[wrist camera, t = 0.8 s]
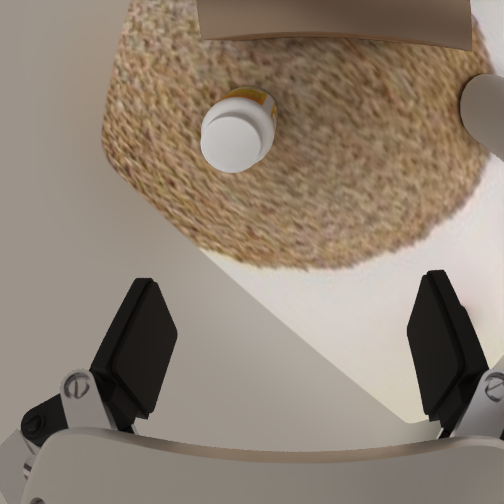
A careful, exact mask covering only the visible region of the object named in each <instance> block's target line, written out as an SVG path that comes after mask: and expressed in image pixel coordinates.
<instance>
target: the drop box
mask: <svg viewBox="0 0 504 504" xmlns="http://www.w3.org/2000/svg"><path fill="white" fill-rule="evenodd" d="M196 1H197V9H198V17H199V25H200V33H201V40H232V41H244V40H255V39H268V38H289V37H335V38H356V39H369V40H380V41H389V42H397V43H409V44H420V45H430V46H438V47H446V48H453V49H459V50H465V51H471V52H472V25H471V7H470V0H196Z"/></svg>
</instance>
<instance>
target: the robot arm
mask: <svg viewBox="0 0 504 504" xmlns="http://www.w3.org/2000/svg"><path fill="white" fill-rule="evenodd" d="M407 337H408V341H409V345H410V349H411V353H412V357H413V361H414V366H415V370H416V375H417V379H418V384H419V389H420V394H421V399H422V404H423V410H424V413H425V415H429V421H430V422H431V421H437V420H440V424H441V427H442V429H441V431H440V432H439V434H438V436H437V437H436V439H435V440H430V441H424V442H419V443H412V444H404V445H397V446H388V447H381V448H371V449H359V450H346V451H323V452H273V451H252V450H238V449H227V448H217V447H208V446H200V445H193V444H186V443H179V442H173V441H167V440H162V439H156V438H151V437H145V436H140V435H139V434H138V432H137V430H136V427H135V425H134V421H135V418H136V417H138V418H142V419H148V417H149V413H152V412H153V411H154V409H155V405H156V402H157V399H158V395H159V392H160V389H161V386H162V383H163V380H164V377H165V374H166V371H167V367H168V364H169V361H170V358H171V355H172V352H173V349H174V346H175V343H176V340H177V329H176V327H175V324H174V322H173V320H172V317H171V315H170V313H169V311H168V308H167V305H166V303H165V301H164V298H163V296H162V294H161V291H160V288H159V286H158V284H157V283H156V282H154V281H153V279H152V278H136V279H135V280H134V282H133V284H132V285H131V287H130V289H129V291H128V293H127V295H126V297H125V298H124V300H123V302H122V304H121V306H120V308H119V310H118V312H117V314H116V316H115V318H114V320H113V321H112V323H111V325H110V327H109V329H108V331H107V333H106V336H105V337H104V339H103V341H102V343H101V345H100V347H99V350H98V352H97V354H96V356H95V358H94V360H93V362H92V364H91V367H90V369H89V371H88V370H85V369H76V370H73V371H72V372H70V373H69V374H67V375H66V377H65V378H64V379H63V381H62V383H61V386H60V394H58V395H56V396H54V397H52V398H50V399H49V400H47V401H45V402H44V403H41V404H40V405H38V406H36V407H34V408H32V409H31V410H29V411H28V412H27V413H26V414H25V415H24V417H23V419H22V422H21V430H20V431H19V430H18V429H17V430H15V431H14V432H13V433H12V434H11V435H10V436H9V437H8V438H7V439H6V440H5V441H4V442H3V443H2V444H1V445H0V490H1V492H2V494H3V496H4V498H5V499H6V501H7V502H8V504H504V370H503V369H500V368H492V369H489V367H488V364H487V361H486V358H485V356H484V353H483V350H482V348H481V345H480V342H479V340H478V337H477V335H476V332H475V330H474V327H473V325H472V323H471V320H470V318H469V316H468V313H467V311H466V309H465V308H464V307H463V306H461V304H460V302H459V300H458V298H457V295H456V293H455V291H454V289H453V287H452V285H451V283H450V280H449V278H448V276H447V274H446V272H445V271H444V270H430V271H428V272H427V274H426V275H423V277H422V280H421V283H420V287H419V290H418V294H417V297H416V300H415V304H414V307H413V310H412V313H411V317H410V320H409V323H408V326H407Z"/></svg>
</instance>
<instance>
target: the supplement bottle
mask: <svg viewBox="0 0 504 504" xmlns="http://www.w3.org/2000/svg"><path fill="white" fill-rule="evenodd" d="M277 118H278V112H277V107H276V104H275V102H274V100H273V99H272V97H271V96H270V95H269V94H268V93H267V92H265V91H264V90H262V89H260V88H257V87H253V86H243V87H238V88H236V89H234V90H232V91H230V92H229V93H227V94H226V95H225V96H224V97H223V98H222V99H220V100H219V101H218V102H217V103H216V104H215V105H214V106H212V107H211V109H210V110H209V111H208V112H207V114H206V115H205V117H204V120H203V122H202V127H201V150H202V153H203V156H204V157H205V159H206V160H207V162H208V163H209V164H210V165H212V166H213V167H214V168H216V169H218V170H220V171H223V172H227V173H237V172H241V171H244V170H246V169H248V168H250V167H251V166H252V165H253V164H255V163H257V162H258V161H260V160H261V159H262V158H263V157H264V156H265V155H266V154H267V153H268V151H269V150H270V148H271V146H272V143H273V141H274V136H275V130H276V124H277Z"/></svg>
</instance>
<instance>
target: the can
mask: <svg viewBox="0 0 504 504" xmlns="http://www.w3.org/2000/svg"><path fill="white" fill-rule="evenodd" d="M460 110H461V118H462V121H463V125H464V127H465V128H466V130H467V132H468V133H469V135H471V136H472V137H473V138H474V139H475V140H476V141H478V142H479V143H480V144H482V145H483V146H484V147H486V148H487V149H488V150H490V151H491V152H492V153H493V154H495V155H496V156H497V157H498V158H500V159H501V160H502V161H503V162H504V78H502V77H499V76H496V75H493V74H481V75H478V76H475V77H474V78H473V79H472V80H471V81H470V82H468V84H467V85H466V87H465V89H464V91H463V93H462V98H461V102H460Z"/></svg>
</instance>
